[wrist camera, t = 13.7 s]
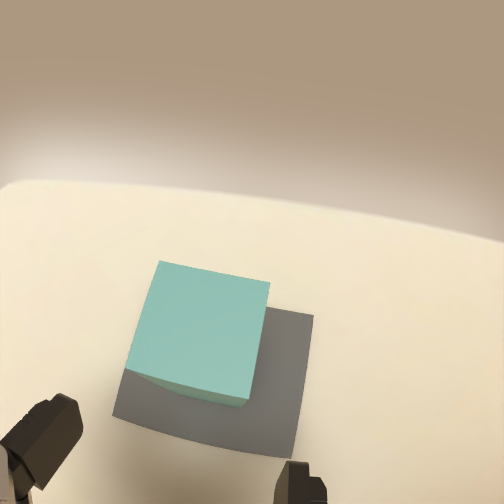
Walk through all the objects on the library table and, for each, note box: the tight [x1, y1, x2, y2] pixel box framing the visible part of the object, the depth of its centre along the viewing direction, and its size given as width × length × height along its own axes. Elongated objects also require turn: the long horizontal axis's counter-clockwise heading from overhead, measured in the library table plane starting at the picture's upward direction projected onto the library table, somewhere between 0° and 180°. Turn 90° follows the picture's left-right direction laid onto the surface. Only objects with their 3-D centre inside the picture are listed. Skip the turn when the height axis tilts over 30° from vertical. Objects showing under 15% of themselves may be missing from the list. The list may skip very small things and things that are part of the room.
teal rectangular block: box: [125, 261, 270, 408], centre depth 17 cm, size 5×5×12 cm
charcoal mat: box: [112, 307, 314, 459], centre depth 23 cm, size 14×12×1 cm
